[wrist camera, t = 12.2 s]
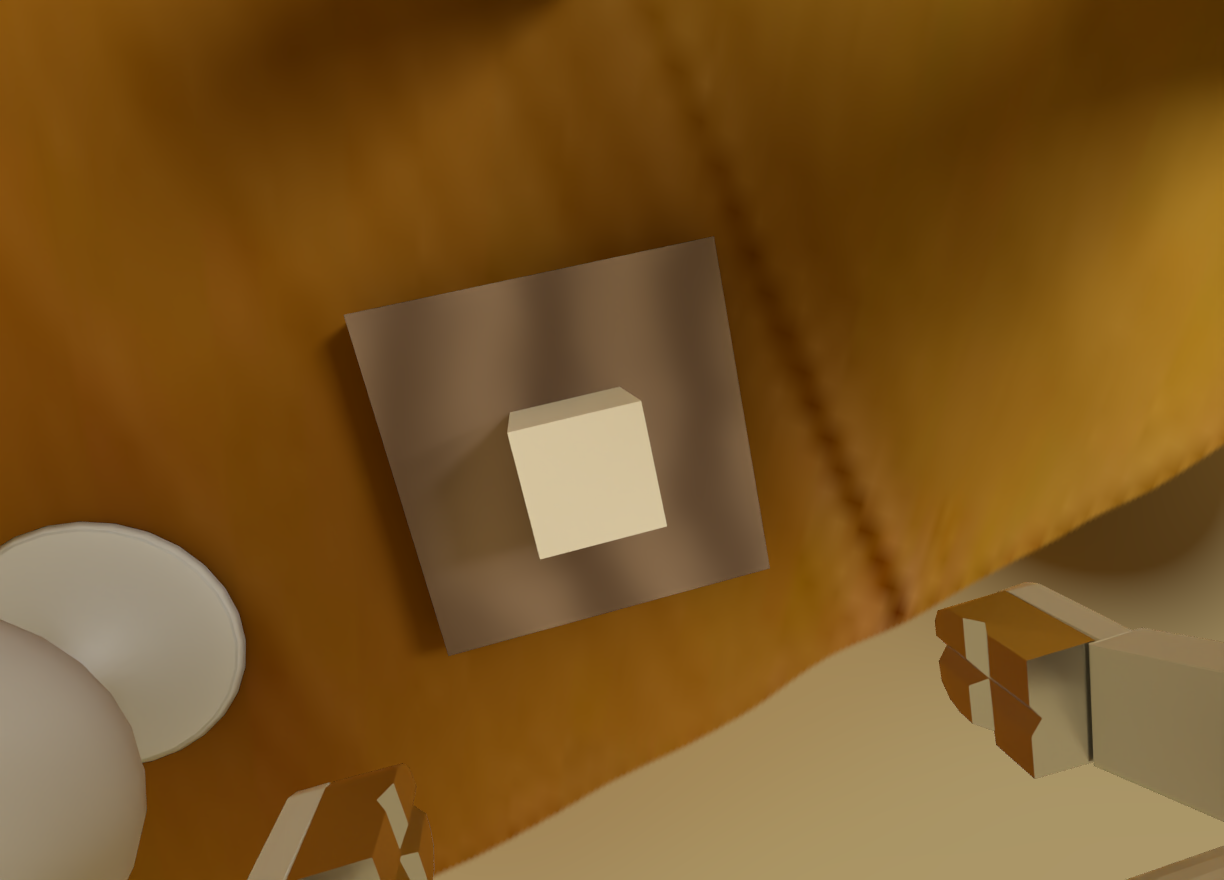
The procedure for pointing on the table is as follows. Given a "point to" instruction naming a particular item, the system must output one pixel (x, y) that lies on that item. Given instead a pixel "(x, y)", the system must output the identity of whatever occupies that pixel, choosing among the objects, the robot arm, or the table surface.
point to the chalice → (101, 688)
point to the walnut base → (545, 373)
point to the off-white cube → (586, 470)
